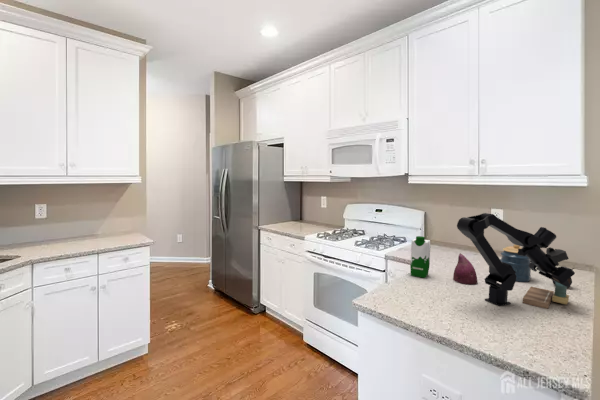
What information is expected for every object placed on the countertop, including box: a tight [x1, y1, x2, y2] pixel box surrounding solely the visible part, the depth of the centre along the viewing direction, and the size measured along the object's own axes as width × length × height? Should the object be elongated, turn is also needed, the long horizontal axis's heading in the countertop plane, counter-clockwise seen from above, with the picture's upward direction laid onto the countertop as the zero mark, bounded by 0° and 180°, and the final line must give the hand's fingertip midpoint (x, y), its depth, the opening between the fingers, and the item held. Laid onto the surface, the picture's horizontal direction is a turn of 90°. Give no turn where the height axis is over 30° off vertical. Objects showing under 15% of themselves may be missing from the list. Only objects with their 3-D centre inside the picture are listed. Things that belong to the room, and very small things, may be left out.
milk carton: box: [409, 235, 431, 279], centre depth 158 cm, size 9×9×20 cm
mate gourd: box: [551, 267, 575, 289], centre depth 146 cm, size 7×8×10 cm
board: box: [522, 286, 555, 310], centre depth 129 cm, size 20×8×2 cm, turn 136°
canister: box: [499, 244, 532, 283], centre depth 157 cm, size 13×13×18 cm
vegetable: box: [452, 252, 478, 286], centre depth 151 cm, size 10×10×15 cm
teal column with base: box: [551, 281, 570, 305], centre depth 126 cm, size 7×5×11 cm, turn 136°
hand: (564, 284), depth 126 cm, fingers closed on teal column with base, 4 cm apart
